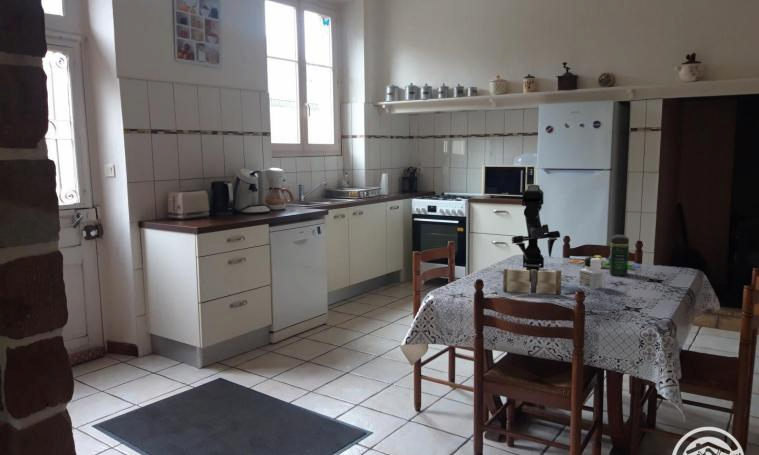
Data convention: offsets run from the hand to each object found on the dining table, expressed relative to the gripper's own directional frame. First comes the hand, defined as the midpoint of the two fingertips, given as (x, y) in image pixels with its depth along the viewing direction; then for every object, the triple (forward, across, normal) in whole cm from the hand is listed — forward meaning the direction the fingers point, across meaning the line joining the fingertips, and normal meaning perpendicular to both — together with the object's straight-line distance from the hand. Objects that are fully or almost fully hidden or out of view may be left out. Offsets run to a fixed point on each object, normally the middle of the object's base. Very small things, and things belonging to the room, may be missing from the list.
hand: (538, 258), depth 236 cm
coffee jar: (+13, +42, +40) cm, 59 cm away
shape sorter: (+10, +42, +62) cm, 75 cm away
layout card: (+14, -6, +3) cm, 15 cm away
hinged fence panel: (+13, -9, +2) cm, 16 cm away
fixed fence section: (+15, +2, 0) cm, 15 cm away
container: (+16, +23, +14) cm, 31 cm away
